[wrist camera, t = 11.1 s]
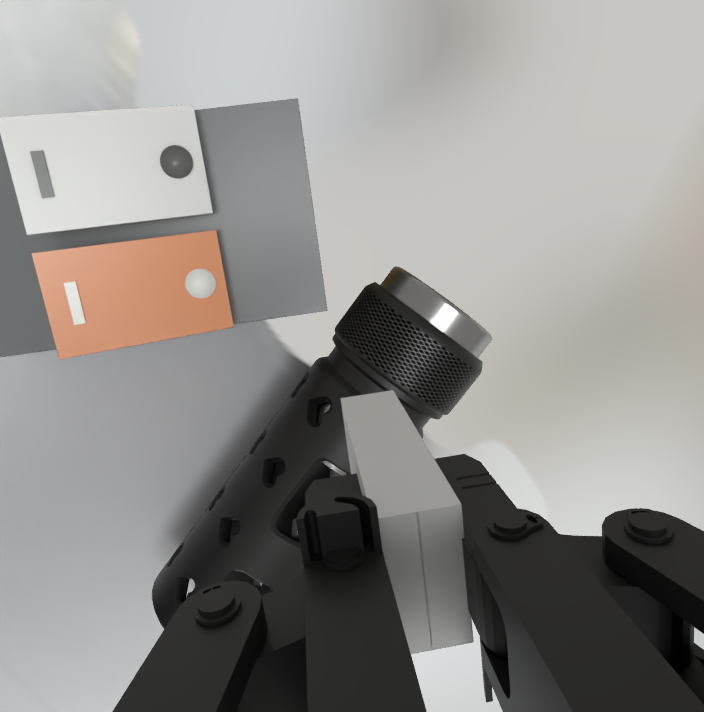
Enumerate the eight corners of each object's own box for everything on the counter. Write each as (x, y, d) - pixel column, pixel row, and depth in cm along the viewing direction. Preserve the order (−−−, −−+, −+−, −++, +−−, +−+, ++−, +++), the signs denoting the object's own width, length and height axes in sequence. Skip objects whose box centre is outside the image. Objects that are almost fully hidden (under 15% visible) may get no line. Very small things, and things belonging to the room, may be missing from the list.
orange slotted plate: (62, 355, 32) (59, 359, 31) (35, 253, 31) (30, 253, 30) (230, 324, 36) (234, 327, 34) (213, 230, 34) (216, 229, 33)
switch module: (-66, 355, 39) (-126, 376, 34) (-127, 164, 36) (-204, 153, 30) (323, 300, 41) (328, 312, 36) (297, 114, 38) (297, 95, 32)
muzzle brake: (167, 538, 44) (129, 629, 34) (375, 253, 41) (401, 262, 31) (265, 593, 46) (257, 694, 36) (471, 327, 43) (525, 358, 33)
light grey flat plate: (32, 235, 31) (26, 235, 30) (2, 122, 30) (-6, 116, 28) (211, 213, 34) (213, 212, 32) (192, 109, 32) (193, 103, 31)
